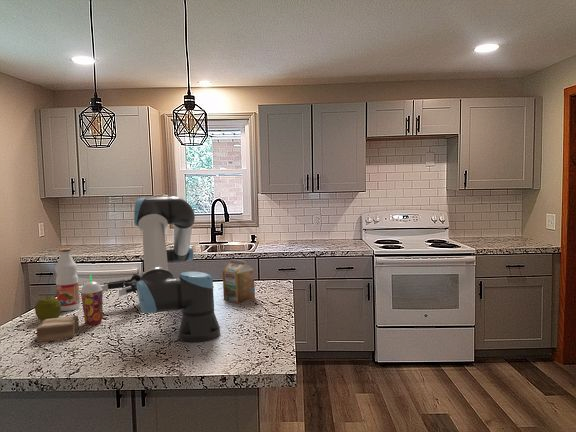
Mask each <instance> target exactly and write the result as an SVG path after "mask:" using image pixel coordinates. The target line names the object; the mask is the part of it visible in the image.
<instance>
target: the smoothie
mask: <svg viewBox="0 0 576 432" xmlns="http://www.w3.org/2000/svg"><path fill="white" fill-rule="evenodd" d="M101 286H102V285H100V283H98V282H97V281H93V278H92V274H90V275H89V281H88V282H86V283H84V285H82V287H81V290H80V299H81V304H82V311H83V318H84V322H85V324H86V325H89V326H90V325H91V326H92V325H98V324H100V323H102V320H103V314H104V313H103V308H104V307H103V304H104V303H103V302H104V301H103V295H104V294H103V292H102V290H103V288H101Z"/></svg>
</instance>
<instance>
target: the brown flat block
mask: <svg viewBox="0 0 576 432" xmlns="http://www.w3.org/2000/svg"><path fill="white" fill-rule="evenodd" d="M79 327H80V325H79V315H70V316H63V317H58V318H52V319H44V320H43V321H41V323H40V324H39V325H38V326H37V327H36V337H37V339H36V340H37V343H42V342H41V341H43V342H49V341H48V340H51V341H57V340H58V339H60V340H66V339H65V338H68V339H74V338H75V336H76V334H77V332H78V330H79V329H80V328H79Z"/></svg>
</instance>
